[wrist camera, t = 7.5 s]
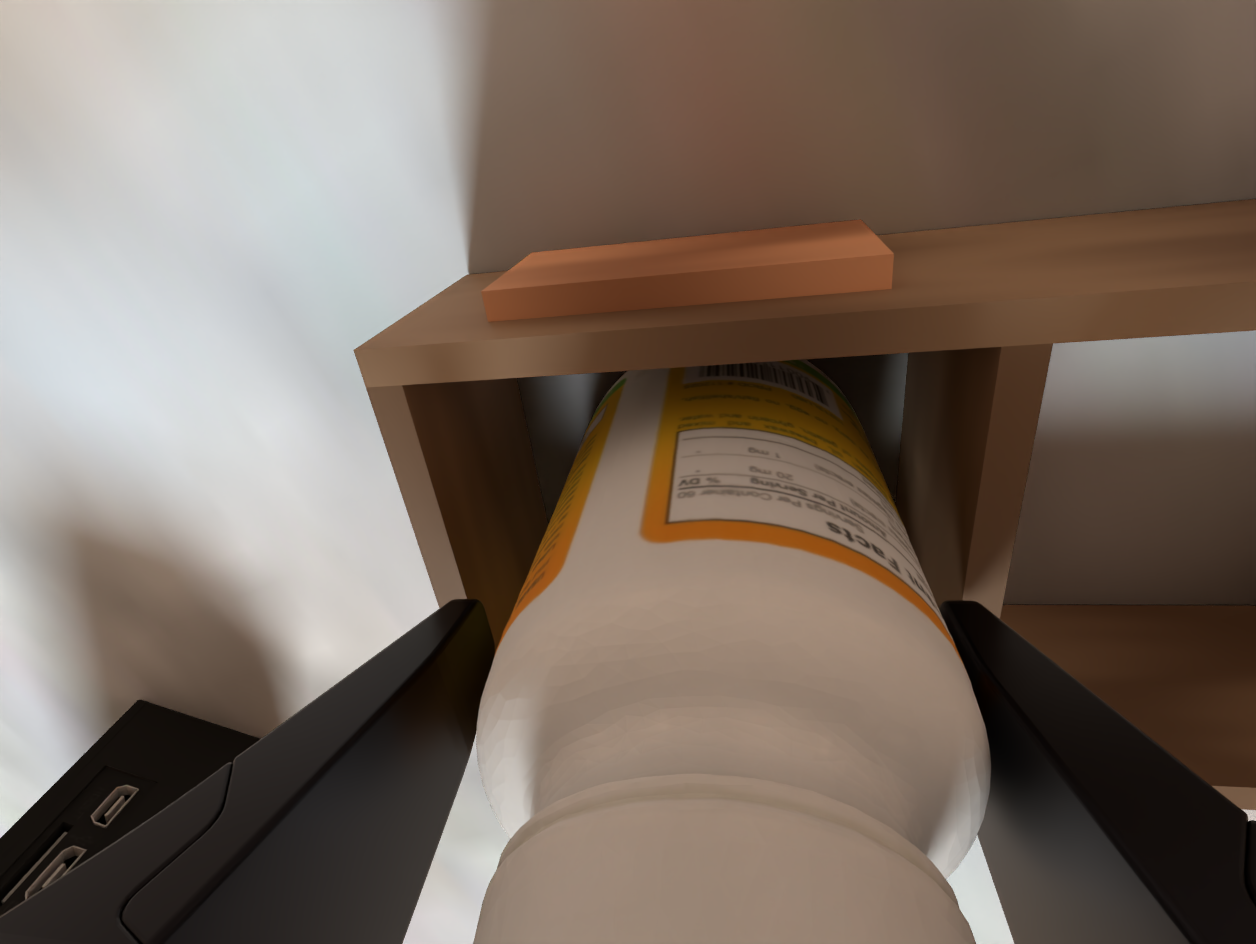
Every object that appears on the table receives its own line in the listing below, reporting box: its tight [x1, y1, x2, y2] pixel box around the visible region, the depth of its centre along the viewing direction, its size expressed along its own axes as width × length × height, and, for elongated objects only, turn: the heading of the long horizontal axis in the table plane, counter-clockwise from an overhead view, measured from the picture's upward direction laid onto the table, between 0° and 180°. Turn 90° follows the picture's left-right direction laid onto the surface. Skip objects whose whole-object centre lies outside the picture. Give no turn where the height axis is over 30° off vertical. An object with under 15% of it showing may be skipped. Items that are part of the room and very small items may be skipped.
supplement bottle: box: [473, 359, 991, 944], centre depth 9 cm, size 5×5×10 cm
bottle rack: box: [354, 199, 1256, 810], centre depth 10 cm, size 23×8×4 cm, turn 97°
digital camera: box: [0, 700, 260, 916], centre depth 19 cm, size 10×5×7 cm, turn 163°
